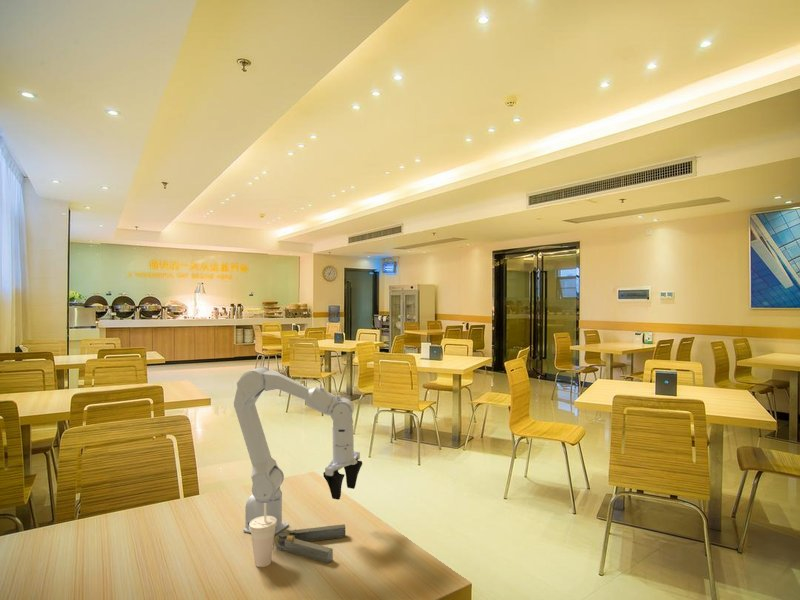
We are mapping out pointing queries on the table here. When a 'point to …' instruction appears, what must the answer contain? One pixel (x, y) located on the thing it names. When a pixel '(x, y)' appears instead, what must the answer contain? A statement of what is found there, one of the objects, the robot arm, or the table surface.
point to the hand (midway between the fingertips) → (343, 493)
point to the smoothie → (263, 538)
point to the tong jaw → (316, 533)
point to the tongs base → (305, 549)
